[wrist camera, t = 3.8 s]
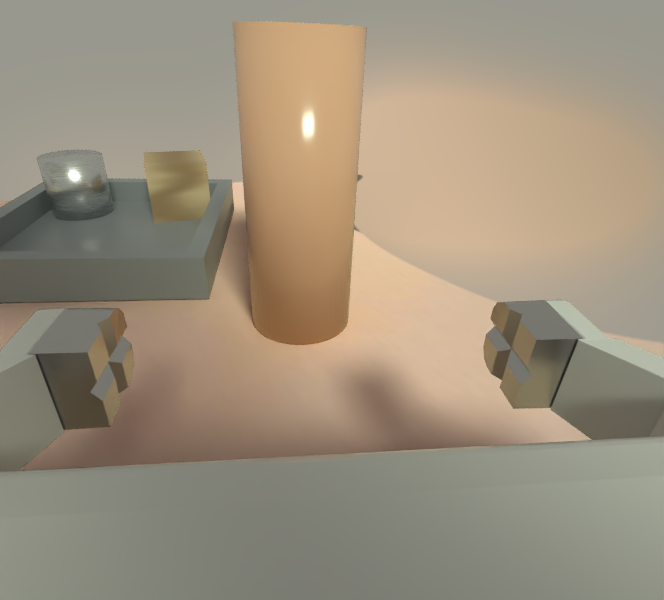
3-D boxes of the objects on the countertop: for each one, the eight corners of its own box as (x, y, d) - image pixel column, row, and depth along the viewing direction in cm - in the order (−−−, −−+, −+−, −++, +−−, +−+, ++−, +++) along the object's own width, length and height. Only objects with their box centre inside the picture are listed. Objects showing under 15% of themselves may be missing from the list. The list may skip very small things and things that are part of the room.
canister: (249, 346, 21) (225, 19, 14) (255, 293, 25) (238, 24, 18) (354, 343, 21) (378, 26, 15) (342, 292, 25) (356, 29, 19)
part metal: (43, 221, 31) (25, 162, 29) (67, 202, 34) (52, 149, 32) (103, 221, 31) (89, 163, 29) (121, 202, 34) (109, 150, 32)
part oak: (154, 223, 31) (144, 165, 29) (152, 205, 34) (143, 152, 32) (212, 218, 32) (206, 162, 30) (205, 201, 35) (199, 150, 33)
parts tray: (-67, 303, 23) (-89, 260, 22) (58, 208, 36) (49, 178, 34) (209, 298, 24) (203, 257, 23) (234, 209, 37) (231, 179, 36)
